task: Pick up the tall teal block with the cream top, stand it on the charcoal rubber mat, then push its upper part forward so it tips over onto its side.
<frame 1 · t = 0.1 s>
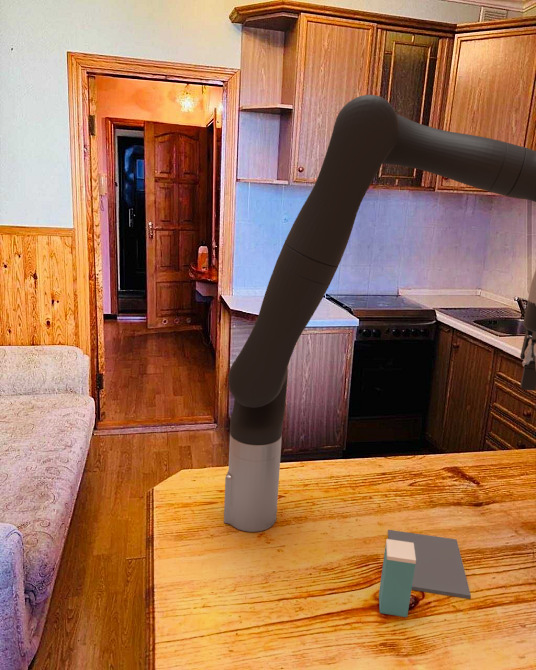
hand: (534, 399, 91), 29 cm above the table, tool pointing down, fingers open, 8 cm apart
block: (392, 605, 86), on the table
mat: (425, 563, 95), on the table
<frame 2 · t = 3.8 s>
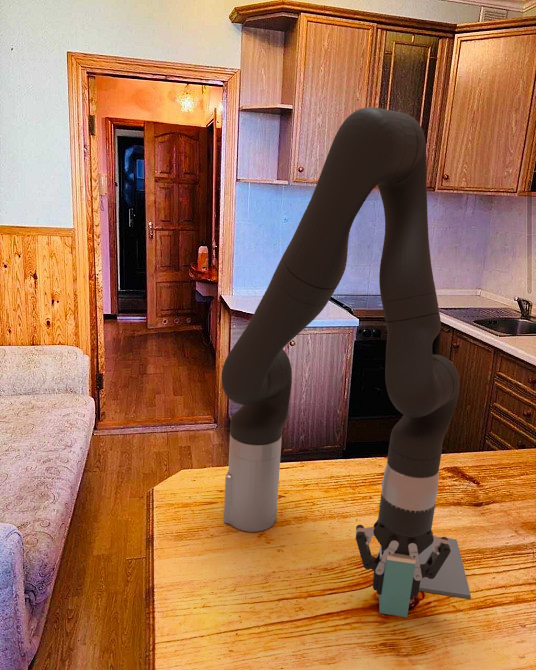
hand: (394, 592, 85), 2 cm above the table, tool pointing down, fingers closed on block, 4 cm apart
block: (392, 605, 85), on the table, touching gripper
when the fingers open (4 cm above the table, at t = 8.5 s): block stays where it is, resting on mat.
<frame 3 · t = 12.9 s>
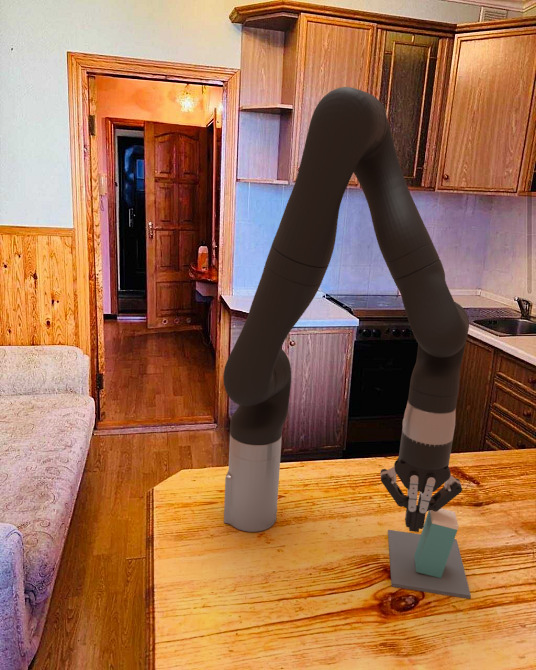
hand: (413, 528, 91), 8 cm above the table, tool pointing down, fingers closed
block: (427, 566, 93), point 1 cm above the table, tilted 7°, touching mat
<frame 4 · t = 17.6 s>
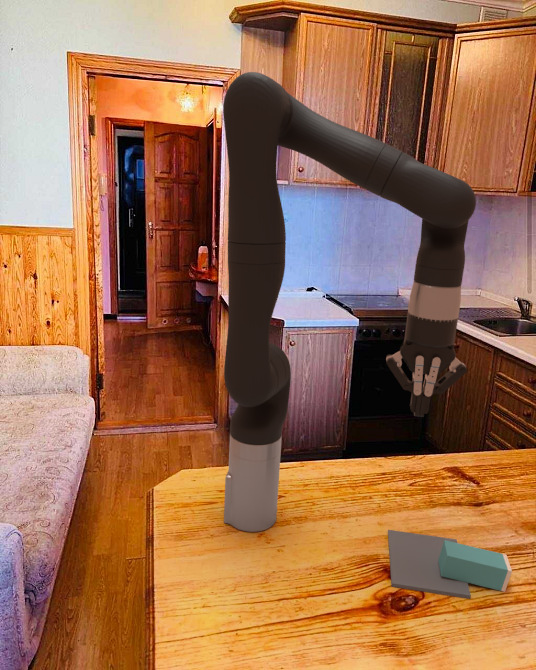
hand: (418, 414, 92), 25 cm above the table, tool pointing down, fingers closed
block: (442, 557, 92), point 3 cm above the table, tilted 96°, touching mat
at the end: block tilted 96°; block inside the target area (3.6 cm from its centre), point 3.0 cm above the table; the gripper is holding nothing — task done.
